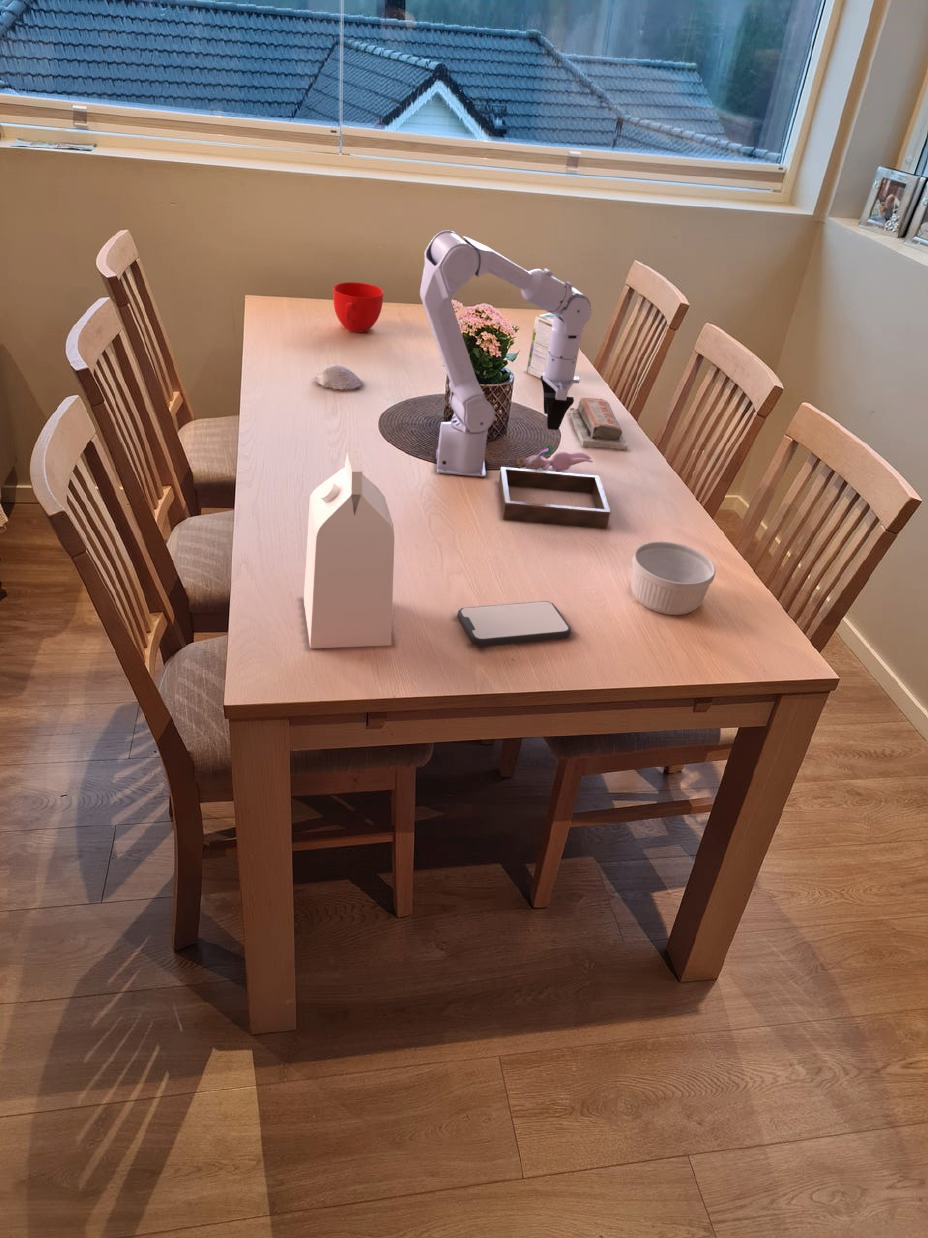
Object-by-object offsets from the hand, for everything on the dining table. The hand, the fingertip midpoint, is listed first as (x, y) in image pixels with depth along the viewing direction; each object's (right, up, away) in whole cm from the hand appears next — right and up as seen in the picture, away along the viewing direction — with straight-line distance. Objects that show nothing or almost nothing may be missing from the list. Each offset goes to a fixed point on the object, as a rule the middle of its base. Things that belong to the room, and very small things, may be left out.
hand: (550, 421), depth 186 cm
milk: (-35, -40, -47) cm, 71 cm away
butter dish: (+12, +2, +22) cm, 26 cm away
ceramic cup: (-46, +36, +60) cm, 84 cm away
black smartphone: (-10, -41, -44) cm, 60 cm away
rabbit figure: (+1, -9, +3) cm, 10 cm away
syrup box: (+2, +22, +49) cm, 53 cm away
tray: (-1, -18, -9) cm, 20 cm away
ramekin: (+16, -36, -32) cm, 50 cm away
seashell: (-46, +16, +27) cm, 56 cm away
